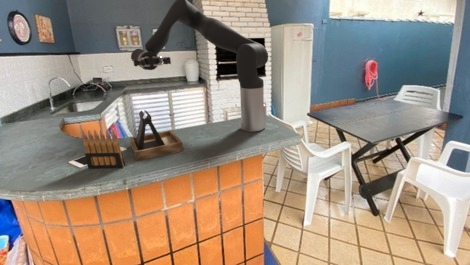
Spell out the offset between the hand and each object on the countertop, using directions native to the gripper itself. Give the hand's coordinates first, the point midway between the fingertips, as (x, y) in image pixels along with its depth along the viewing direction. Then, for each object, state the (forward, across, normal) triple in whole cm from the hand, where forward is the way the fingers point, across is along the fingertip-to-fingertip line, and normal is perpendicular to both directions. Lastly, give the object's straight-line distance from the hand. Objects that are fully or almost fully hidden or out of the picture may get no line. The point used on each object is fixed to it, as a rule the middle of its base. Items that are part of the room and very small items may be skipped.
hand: (155, 62), depth 95 cm
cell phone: (+13, -25, +29) cm, 40 cm away
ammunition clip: (+24, -23, +28) cm, 44 cm away
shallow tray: (+17, -7, +28) cm, 33 cm away
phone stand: (+16, -9, +27) cm, 33 cm away
